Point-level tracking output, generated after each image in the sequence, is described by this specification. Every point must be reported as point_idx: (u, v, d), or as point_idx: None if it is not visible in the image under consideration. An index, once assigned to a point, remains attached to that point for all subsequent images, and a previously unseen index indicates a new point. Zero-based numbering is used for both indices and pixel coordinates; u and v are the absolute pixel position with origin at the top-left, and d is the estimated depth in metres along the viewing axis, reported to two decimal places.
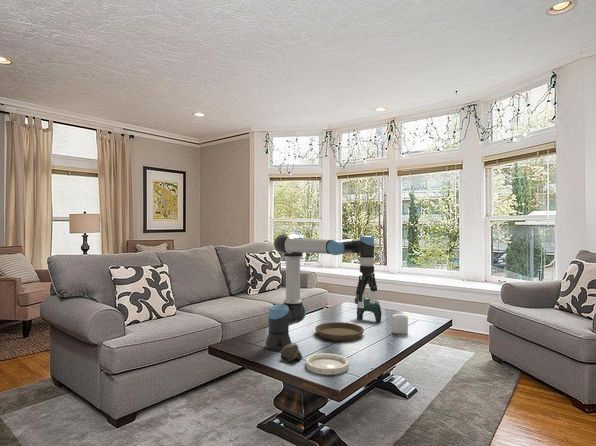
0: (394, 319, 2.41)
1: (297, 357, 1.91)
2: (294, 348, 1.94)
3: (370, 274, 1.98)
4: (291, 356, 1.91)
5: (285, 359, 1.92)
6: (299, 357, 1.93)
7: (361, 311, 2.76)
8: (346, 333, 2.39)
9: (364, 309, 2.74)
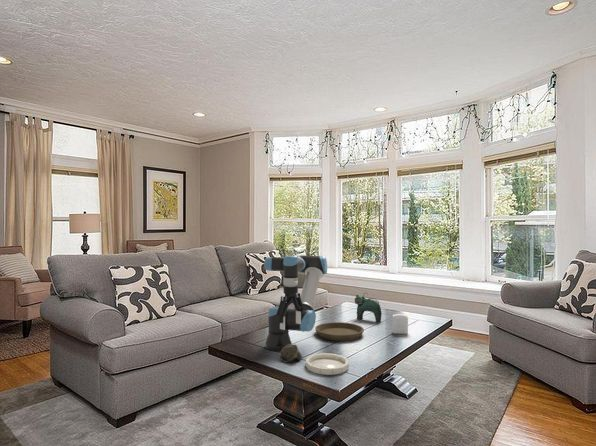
0: (394, 319, 2.41)
1: (297, 357, 1.91)
2: (294, 348, 1.93)
3: (294, 294, 1.96)
4: (291, 356, 1.91)
5: (285, 359, 1.91)
6: (299, 357, 1.92)
7: (361, 311, 2.76)
8: (346, 333, 2.39)
9: (364, 309, 2.74)
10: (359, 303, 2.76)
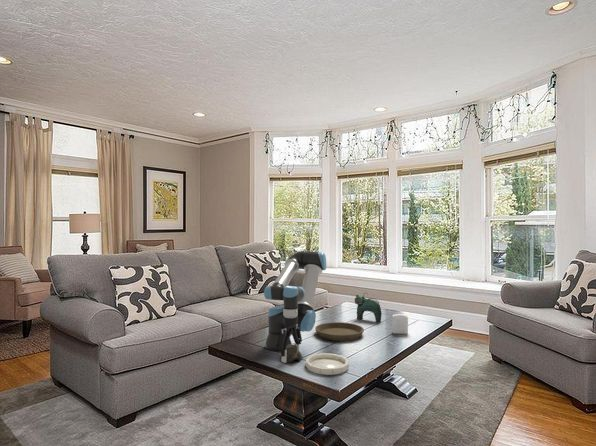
0: (394, 319, 2.41)
1: (297, 358, 1.91)
2: (294, 348, 1.93)
3: (294, 325, 1.96)
4: (291, 356, 1.90)
5: None
6: (299, 358, 1.92)
7: (361, 311, 2.76)
8: (346, 333, 2.39)
9: (364, 309, 2.74)
10: (359, 303, 2.76)
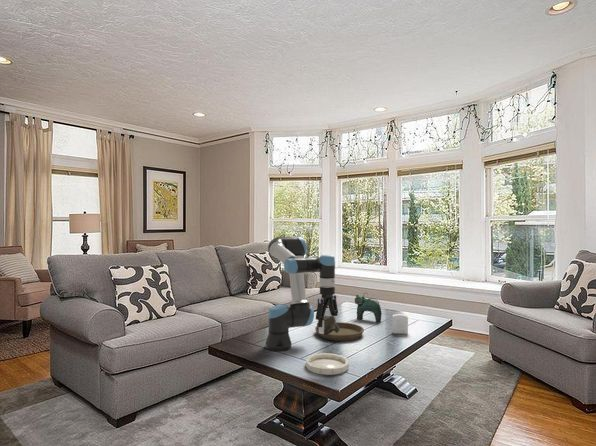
0: (394, 319, 2.41)
1: (334, 329, 1.82)
2: (331, 320, 1.85)
3: (331, 295, 1.87)
4: (328, 328, 1.82)
5: None
6: (336, 329, 1.83)
7: (361, 311, 2.76)
8: (346, 333, 2.39)
9: (364, 309, 2.74)
10: (359, 303, 2.76)
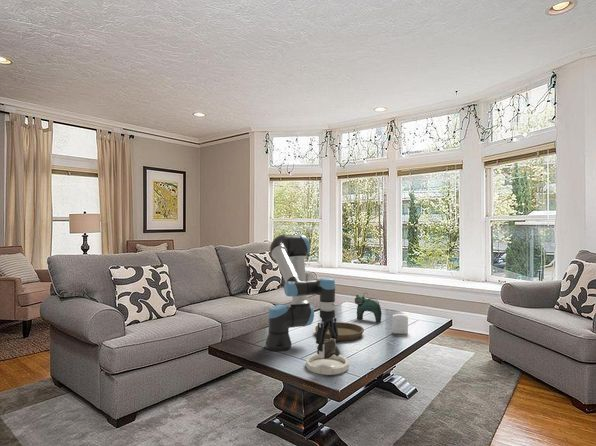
0: (394, 319, 2.41)
1: (335, 353, 1.82)
2: (331, 343, 1.84)
3: (331, 319, 1.87)
4: (328, 352, 1.82)
5: None
6: (337, 353, 1.83)
7: (361, 311, 2.76)
8: (346, 333, 2.39)
9: (364, 309, 2.74)
10: (359, 303, 2.76)
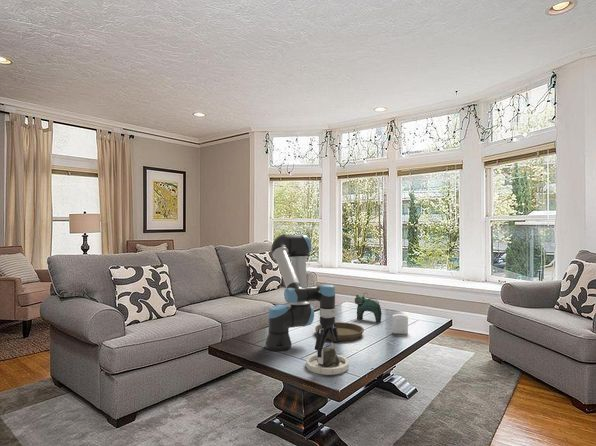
0: (394, 319, 2.41)
1: (335, 362, 1.82)
2: (331, 352, 1.85)
3: (331, 325, 1.87)
4: (328, 361, 1.82)
5: (322, 364, 1.83)
6: (337, 362, 1.84)
7: (361, 311, 2.76)
8: (346, 333, 2.39)
9: (364, 309, 2.74)
10: (359, 303, 2.76)
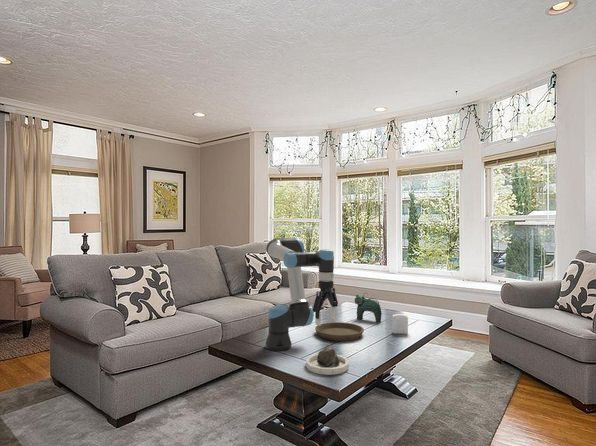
0: (394, 319, 2.41)
1: (335, 362, 1.82)
2: (331, 352, 1.85)
3: (329, 289, 1.90)
4: (328, 361, 1.82)
5: (322, 364, 1.83)
6: (337, 362, 1.83)
7: (361, 311, 2.76)
8: (346, 333, 2.39)
9: (364, 309, 2.74)
10: (359, 303, 2.76)
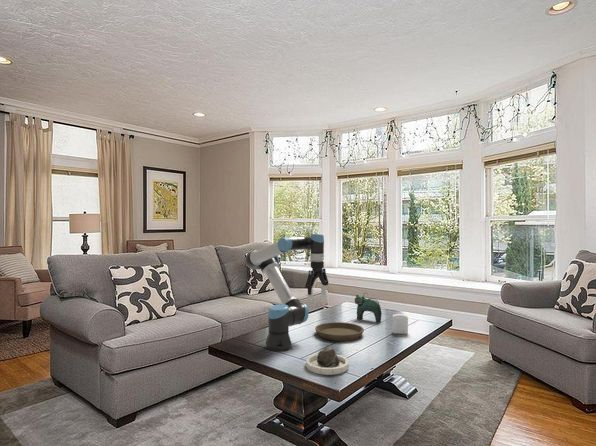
0: (394, 319, 2.41)
1: (335, 362, 1.82)
2: (331, 352, 1.85)
3: (320, 269, 2.12)
4: (328, 361, 1.82)
5: (322, 364, 1.83)
6: (337, 362, 1.83)
7: (361, 311, 2.76)
8: (346, 333, 2.39)
9: (364, 309, 2.74)
10: (359, 303, 2.76)
